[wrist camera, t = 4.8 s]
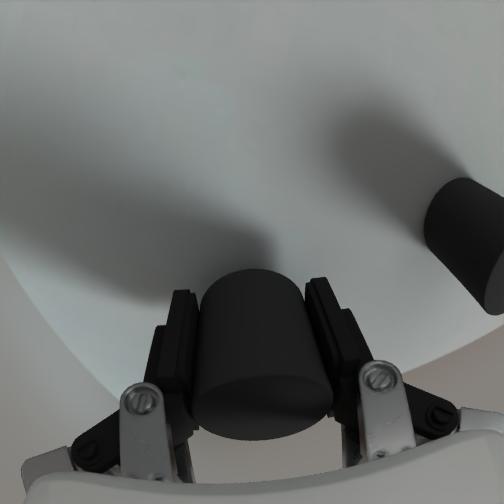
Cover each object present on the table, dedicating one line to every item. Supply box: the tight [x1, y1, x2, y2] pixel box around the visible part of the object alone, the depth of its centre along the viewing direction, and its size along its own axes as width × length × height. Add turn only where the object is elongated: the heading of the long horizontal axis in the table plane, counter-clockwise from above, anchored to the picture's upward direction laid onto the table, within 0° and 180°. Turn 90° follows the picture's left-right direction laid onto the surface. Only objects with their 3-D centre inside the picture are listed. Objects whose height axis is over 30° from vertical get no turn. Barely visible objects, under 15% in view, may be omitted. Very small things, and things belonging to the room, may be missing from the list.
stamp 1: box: [191, 269, 334, 441], centre depth 9 cm, size 4×4×4 cm
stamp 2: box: [424, 178, 504, 315], centre depth 9 cm, size 4×4×4 cm
